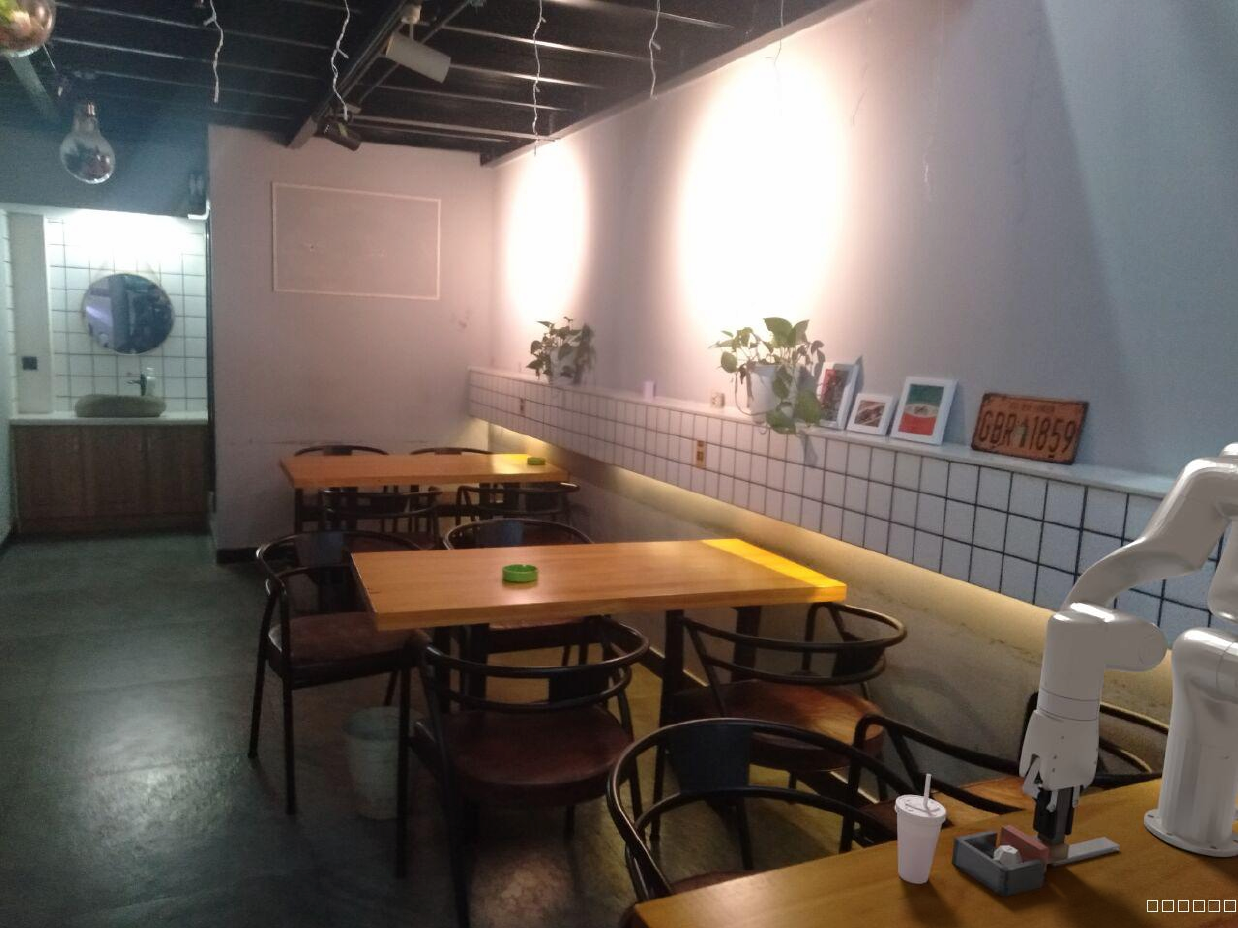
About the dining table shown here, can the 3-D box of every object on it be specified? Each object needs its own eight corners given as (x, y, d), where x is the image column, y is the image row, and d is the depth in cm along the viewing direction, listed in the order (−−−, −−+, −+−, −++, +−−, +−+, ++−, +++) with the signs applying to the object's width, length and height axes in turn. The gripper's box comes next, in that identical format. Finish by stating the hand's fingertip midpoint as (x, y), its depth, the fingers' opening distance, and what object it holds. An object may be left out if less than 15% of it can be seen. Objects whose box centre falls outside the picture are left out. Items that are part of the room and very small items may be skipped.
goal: (990, 853, 128) (993, 829, 127) (1042, 886, 120) (1045, 861, 120) (951, 862, 124) (954, 837, 124) (1002, 897, 117) (1005, 871, 116)
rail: (1103, 841, 133) (1104, 836, 133) (1118, 850, 131) (1119, 844, 131) (1038, 857, 127) (1039, 852, 127) (1053, 866, 125) (1054, 860, 125)
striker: (1037, 840, 130) (1045, 773, 129) (1076, 864, 124) (1085, 793, 123) (998, 849, 127) (1007, 780, 126) (1037, 873, 121) (1046, 801, 120)
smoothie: (941, 893, 117) (953, 788, 115) (889, 884, 118) (901, 780, 116) (934, 867, 123) (946, 767, 121) (885, 858, 124) (896, 760, 123)
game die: (986, 866, 124) (988, 845, 124) (1004, 860, 126) (1007, 840, 126) (1008, 879, 121) (1011, 858, 121) (1026, 873, 123) (1029, 852, 123)
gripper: (1083, 688, 131) (1067, 811, 133) (1003, 699, 124) (987, 828, 126) (1132, 708, 124) (1115, 836, 126) (1050, 720, 117) (1033, 855, 119)
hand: (1051, 831), depth 126 cm, fingers closed on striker, 2 cm apart
